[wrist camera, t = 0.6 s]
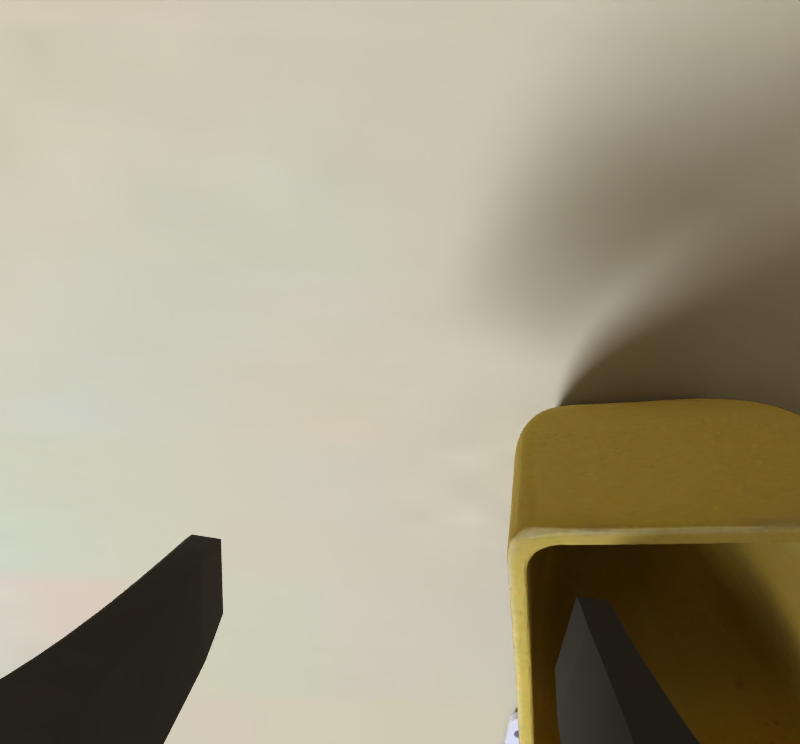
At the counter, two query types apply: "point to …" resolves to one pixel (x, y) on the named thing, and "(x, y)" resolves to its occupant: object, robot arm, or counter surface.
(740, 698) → the flower pot
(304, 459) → the counter surface
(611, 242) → the counter surface
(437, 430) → the counter surface
